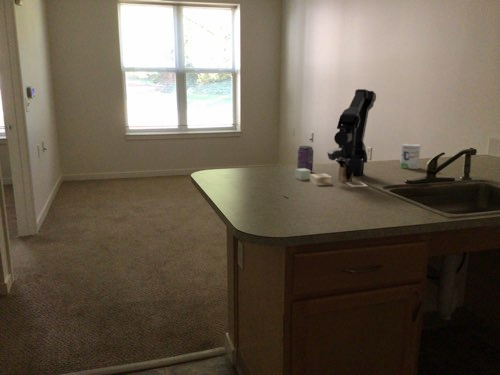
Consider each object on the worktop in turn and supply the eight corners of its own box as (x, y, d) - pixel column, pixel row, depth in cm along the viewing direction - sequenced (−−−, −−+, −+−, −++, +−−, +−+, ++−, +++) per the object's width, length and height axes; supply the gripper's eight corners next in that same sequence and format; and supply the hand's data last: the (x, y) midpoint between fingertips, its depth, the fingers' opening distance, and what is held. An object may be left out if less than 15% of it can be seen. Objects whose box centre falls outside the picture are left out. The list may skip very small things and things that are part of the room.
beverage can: (312, 170, 213) (313, 145, 210) (312, 173, 206) (313, 148, 203) (297, 170, 214) (298, 145, 211) (297, 173, 207) (298, 147, 204)
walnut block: (348, 179, 196) (349, 166, 194) (352, 182, 191) (353, 168, 190) (338, 179, 195) (339, 166, 193) (342, 182, 191) (343, 168, 189)
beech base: (324, 181, 193) (325, 173, 192) (331, 185, 187) (332, 176, 186) (309, 182, 192) (310, 174, 191) (315, 185, 185) (316, 177, 184)
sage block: (304, 176, 200) (304, 168, 199) (310, 179, 196) (310, 170, 195) (294, 177, 198) (295, 169, 197) (300, 180, 194) (301, 171, 193)
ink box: (417, 167, 225) (420, 144, 223) (418, 169, 221) (420, 145, 218) (399, 166, 228) (402, 143, 225) (400, 168, 223) (402, 144, 220)
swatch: (360, 182, 191) (360, 181, 191) (367, 186, 184) (367, 185, 184) (345, 182, 190) (345, 181, 189) (351, 186, 183) (352, 185, 183)
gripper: (322, 139, 196) (320, 174, 200) (338, 146, 179) (335, 183, 183) (346, 139, 199) (343, 173, 202) (364, 145, 181) (361, 183, 185)
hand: (345, 178), depth 193 cm, fingers closed on walnut block, 4 cm apart
